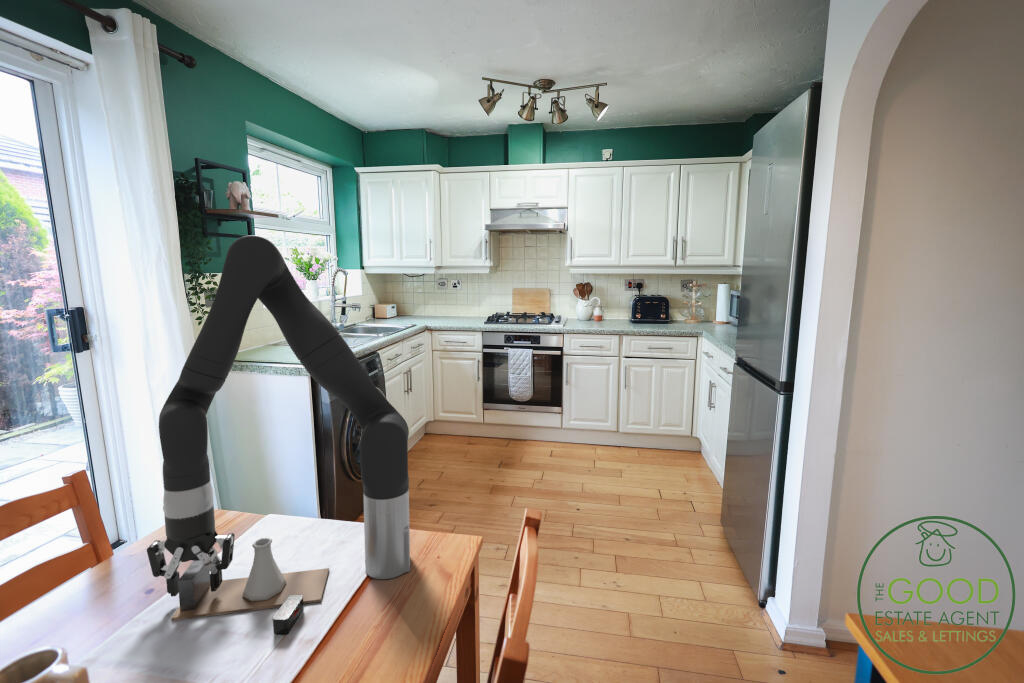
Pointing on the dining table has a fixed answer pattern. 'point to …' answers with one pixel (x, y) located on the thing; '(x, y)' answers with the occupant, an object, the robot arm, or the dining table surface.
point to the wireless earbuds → (288, 615)
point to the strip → (240, 592)
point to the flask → (263, 573)
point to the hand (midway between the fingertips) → (195, 591)
